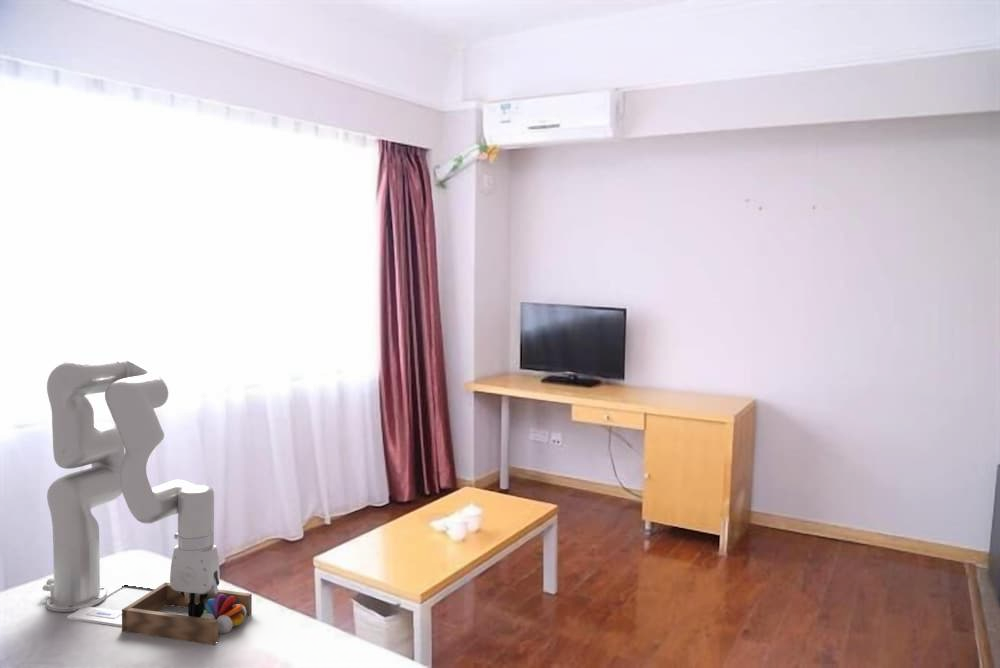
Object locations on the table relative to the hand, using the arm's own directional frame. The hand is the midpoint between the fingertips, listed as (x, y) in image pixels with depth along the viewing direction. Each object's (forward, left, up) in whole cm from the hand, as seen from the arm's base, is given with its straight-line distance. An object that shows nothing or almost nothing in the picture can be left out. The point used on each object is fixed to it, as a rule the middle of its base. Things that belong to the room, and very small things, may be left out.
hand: (195, 617), depth 156 cm
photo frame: (-22, +4, -2) cm, 23 cm away
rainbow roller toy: (+7, +1, -2) cm, 7 cm away
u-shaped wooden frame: (-1, 0, -1) cm, 2 cm away
